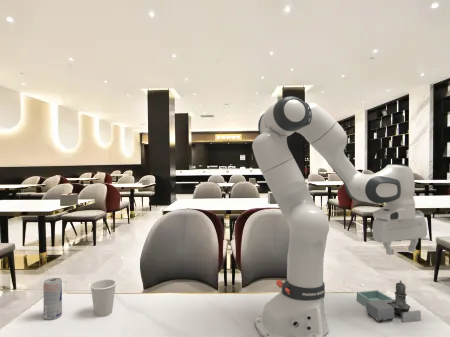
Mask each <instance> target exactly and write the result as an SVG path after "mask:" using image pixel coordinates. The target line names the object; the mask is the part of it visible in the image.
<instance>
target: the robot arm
mask: <svg viewBox="0 0 450 337" xmlns="http://www.w3.org/2000/svg"><path fill="white" fill-rule="evenodd" d="M257 124H258V125H257V130H258V136H256V137H255V138H254V140H253V142H252V145H251V147H252V151H253V156H254V157H255V158H254V159H255V161H256V163H257V166H258V168H259V170H260V172H261V174H262V176H263V178H264V179H265V182H266V185H267V186H268V188H269V190H270V192H271V194H272V196H273V198H274V200H275V202H276V204H277V206H278V209H279V210H280V212H281V215H282V216H283V218H284V220H285V221H286V224H287V226H288V228H289V238H288V250H287V256H286V257H287V258H286V260H287V261H286V267H287V268H286V271H287V272H286V279H285V281H284V282H283V281H282V280H281V279H277V280H276V283H275V285H276V286H277V287H278V288H281V291H280V292H279V293H278V294H276V295H275V296H274V297H273V298H271V299H269V300H268V302H266V303H265V304H264V306H263V311H262V315H260V316H257V317H256V319H255V321H254V322H255V325H254V326H255V327H256V330H257V331H258V333H259V334H260V336H262V337H324V336H326V335H327V334H328V332H329V326H328V322H327V318H326V311H325V295H326V290H325V286H326V285H325V282H324V258H325V251H326V248H327V247H326V246H327V240H328V234H329V231H330V223H329V220H328V219H329V218H328V216H327V215H326V213H325V211H324V210H322V209H321V208H320V207H318V206H317V205H316V203H315V202H314V201H315V200H313V196H312V195H311V193H310V189H309V188H308V185H307V181H306V179H305V177H304V176H303V173H302V171H301V169H300V168H299V165H298V163H297V162H296V159H295V158H294V156H293V154H292V152H291V151H290V148H289V146H288V139H287V138H288V137H289V136H291V135H293V134H294V133H295V132H296V133H298V134H300V135H301V136H302V137H303V138H305V140H306V141H307V142H308V144H310V145H311V147H312V148H313V149H314V150H315V151H316V152H318V154H319V155H320V156H321V157H322V158H323V159H324V160H325V161H326V162H327V163H328V165H329V166H330V168H331V169H332V170H333V171H334V172H335V174H336V175H337V177H338V178H340V180H341V182H342V183H343V186H344V189H345V191H346V194H347V195H348V197H349V198H350V199H352V200H353V201H356V202H364V203H365V202H366V203H370V204H375V205H378V204H379V205H380V204H384V206H382V207H381V208H379V209H377V210H374V211H373V212H372V216H373V218H374V219H373V223H372V238H373V240H374V241H375V242H378V243H381V244H382V245H383V246H384V249H385V253H386V255H389V256H391V255H395V254H394V252H395V250H394V248H392V247H391V245H392V242H401V241H406V240H407V241H408V240H409V241H410V243H409V245H407V251H408V252H409V253H412V252H413V253H414V252H416V247H417V245H418V243H419V239H423V238H427V235H428V227H427V222H426V218H425V213H423V211H421V210H416V202H415V199H414V198H415V197H414V195H415V191H416V189H415V176H414V171H413V169H412V168H411V167H410V166H408V165H407V164H406V165H405V164H398V163H395V164H394V163H390V164H387V165H386V166H385V167H384V168H382V169H381V170H380V171H377V172H375V173H372V174H366V173H363V172H361V171H358V169H356V166H354V165H353V163H352V162H351V161H350V159H348V157H347V156H346V154H345V149H346V147H347V143H348V135H347V133H346V131H345V129H344V128H343V127H342V126H341V125H340V124H339V122H338V121H337V120H336V119H335V118H334V117H333V116H332V115H331V114H330V113H329V112H328V111H327V110H326V109H325V108H323V107H322V106H320V105H319V104H317V103H315V102H306V101H303V99H301V98H300V97H296V96H291V95H290V96H286V97H283V98H280V99H279V100H278V101H277V102H276V103H274V104H273V105H270V106H269V107H268V108H267V109H266V110H265V111H264V112H263V114H262V115H260V117H259V121H258V123H257Z"/></svg>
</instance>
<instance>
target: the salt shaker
mask: <svg viewBox="0 0 450 337" xmlns="http://www.w3.org/2000/svg"><path fill="white" fill-rule="evenodd" d="M406 287H407V286H406V285H405V284H404V283H403V282H402V280H401V279H400V280H399V282H396V283H395V291H394V296H395V297H394V300H395V301H393V302H391V305H392V307H394V318H396V319H397V320H398V319H400V320H401V312H409V311H410V309H411V305H409V304H408V303H407V299H406V297H407V296H408V294H406V289H407V288H406Z"/></svg>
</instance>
